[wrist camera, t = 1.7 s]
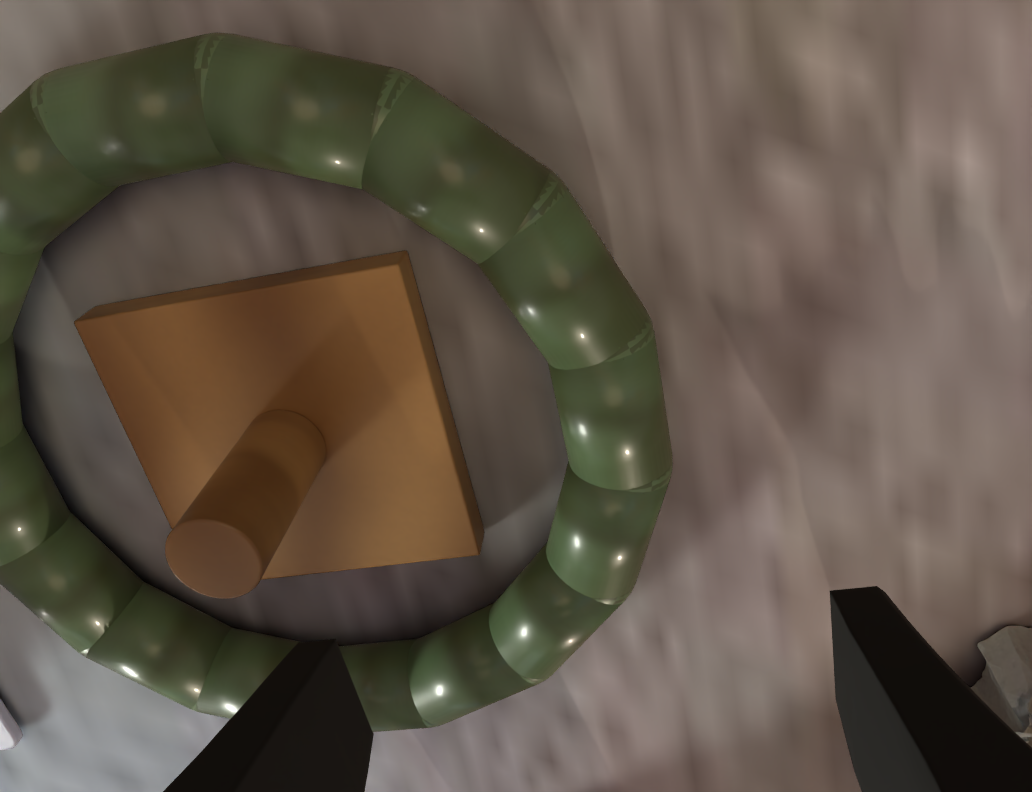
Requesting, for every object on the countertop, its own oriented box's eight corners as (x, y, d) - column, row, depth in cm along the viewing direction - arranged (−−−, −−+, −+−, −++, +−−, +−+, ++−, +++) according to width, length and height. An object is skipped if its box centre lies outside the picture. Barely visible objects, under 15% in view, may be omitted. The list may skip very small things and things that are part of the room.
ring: (124, 708, 27) (84, 772, 25) (-207, 131, 19) (-306, 154, 17) (701, 658, 24) (712, 726, 22) (597, -58, 16) (596, -59, 14)
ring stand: (213, 564, 24) (116, 718, 19) (94, 305, 21) (-61, 415, 16) (485, 532, 23) (454, 689, 18) (407, 249, 19) (342, 350, 14)
